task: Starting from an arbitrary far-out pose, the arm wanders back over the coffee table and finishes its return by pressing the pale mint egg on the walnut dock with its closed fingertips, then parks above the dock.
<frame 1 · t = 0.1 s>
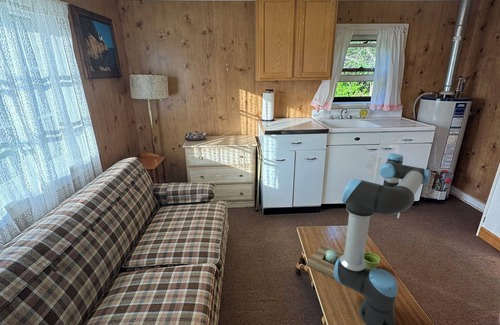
hand: (385, 213, 158), 28 cm above the table, tool pointing down, fingers open, 13 cm apart
plant pot: (368, 270, 153), on the table
pale mint egg: (331, 256, 156), point 6 cm above the table, slide at 0.0 cm
dock: (330, 264, 158), on the table
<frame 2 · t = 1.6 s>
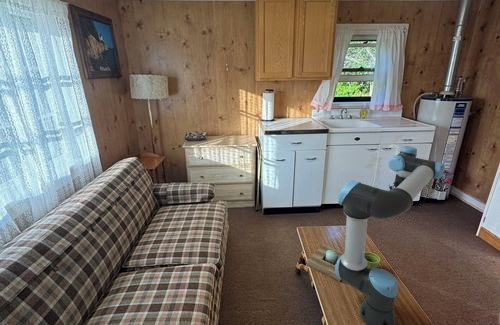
hand: (396, 213, 150), 32 cm above the table, tool pointing down, fingers closed
nothing on the table moved.
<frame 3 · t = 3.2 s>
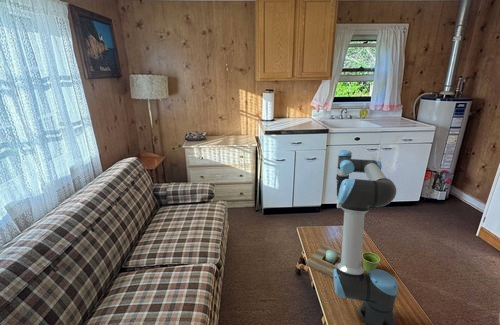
hand: (339, 207, 175), 23 cm above the table, tool pointing down, fingers closed
nothing on the table moved.
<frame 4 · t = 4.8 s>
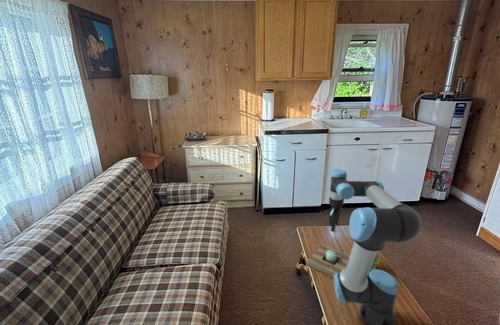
hand: (332, 235, 152), 20 cm above the table, tool pointing down, fingers closed
nothing on the table moved.
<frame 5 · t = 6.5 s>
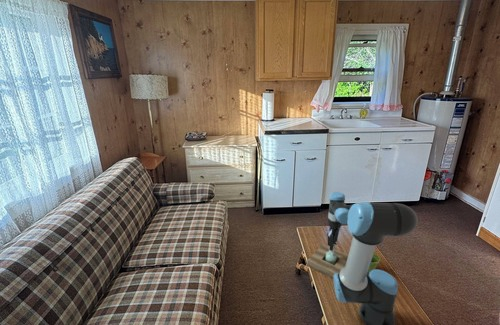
hand: (331, 253, 155), 7 cm above the table, tool pointing down, fingers closed
pale mint egg: (330, 258, 156), point 4 cm above the table, slide at 1.0 cm, touching gripper
everything else where it was.
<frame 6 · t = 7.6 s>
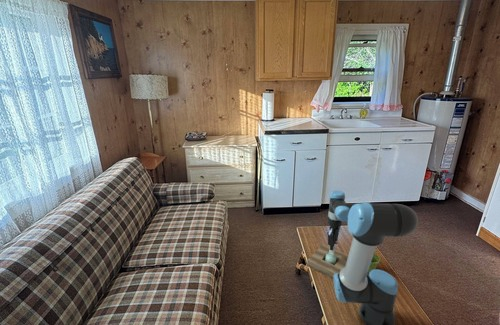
hand: (331, 253, 155), 8 cm above the table, tool pointing down, fingers closed
pale mint egg: (330, 259, 157), point 3 cm above the table, slide at 2.4 cm
everything else where it was.
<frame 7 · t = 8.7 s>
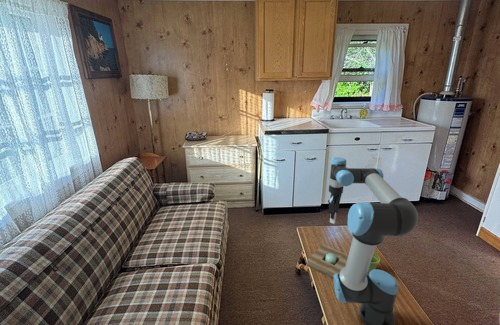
hand: (332, 222, 153), 26 cm above the table, tool pointing down, fingers closed
nothing on the table moved.
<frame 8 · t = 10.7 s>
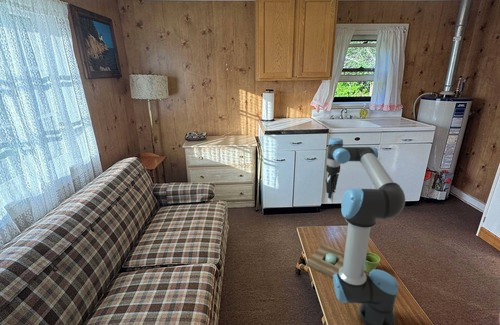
hand: (329, 202, 159), 34 cm above the table, tool pointing down, fingers closed
nothing on the table moved.
at the end: pale mint egg slide at 2.4 cm; pale mint egg touching nothing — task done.
